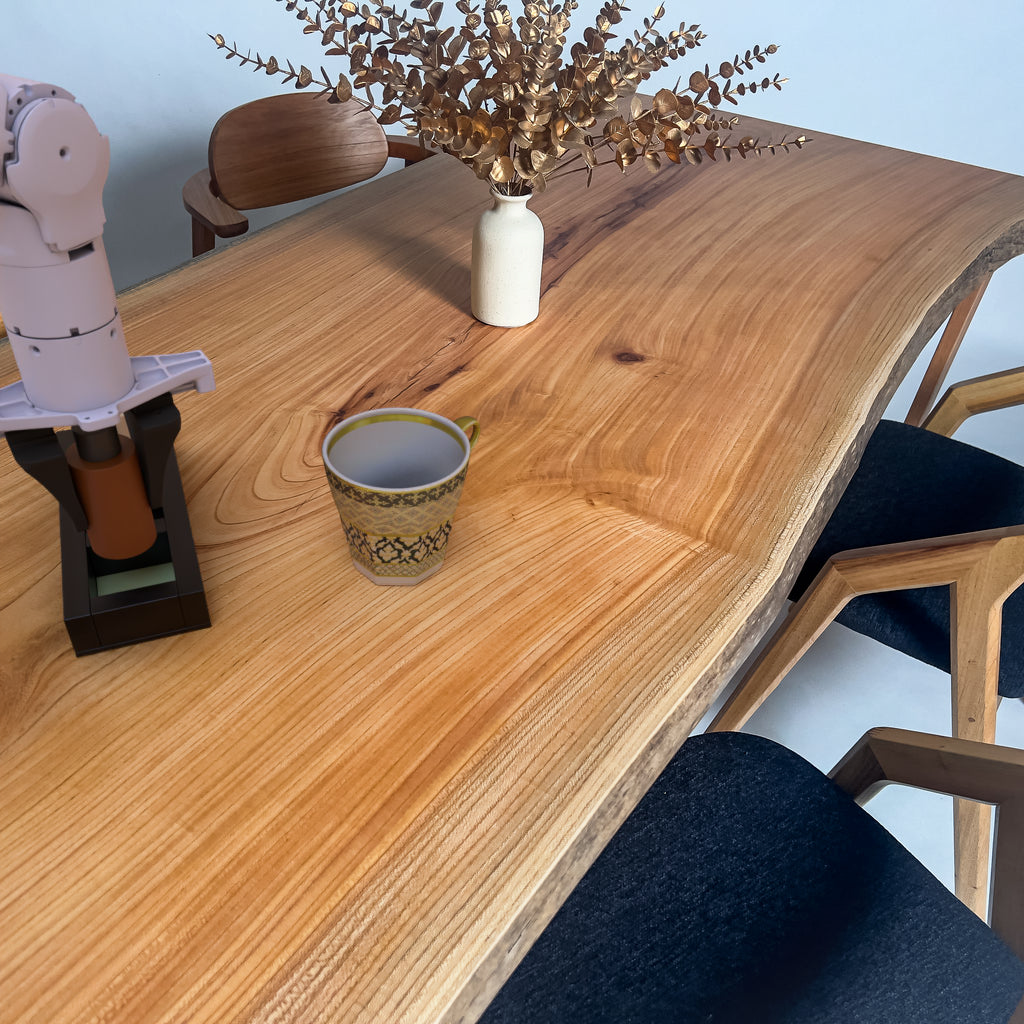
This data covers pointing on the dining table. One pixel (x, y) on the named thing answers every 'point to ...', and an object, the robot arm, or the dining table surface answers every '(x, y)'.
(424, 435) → the ceramic cup
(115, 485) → the spice bottle
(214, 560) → the dining table surface
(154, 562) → the holder
